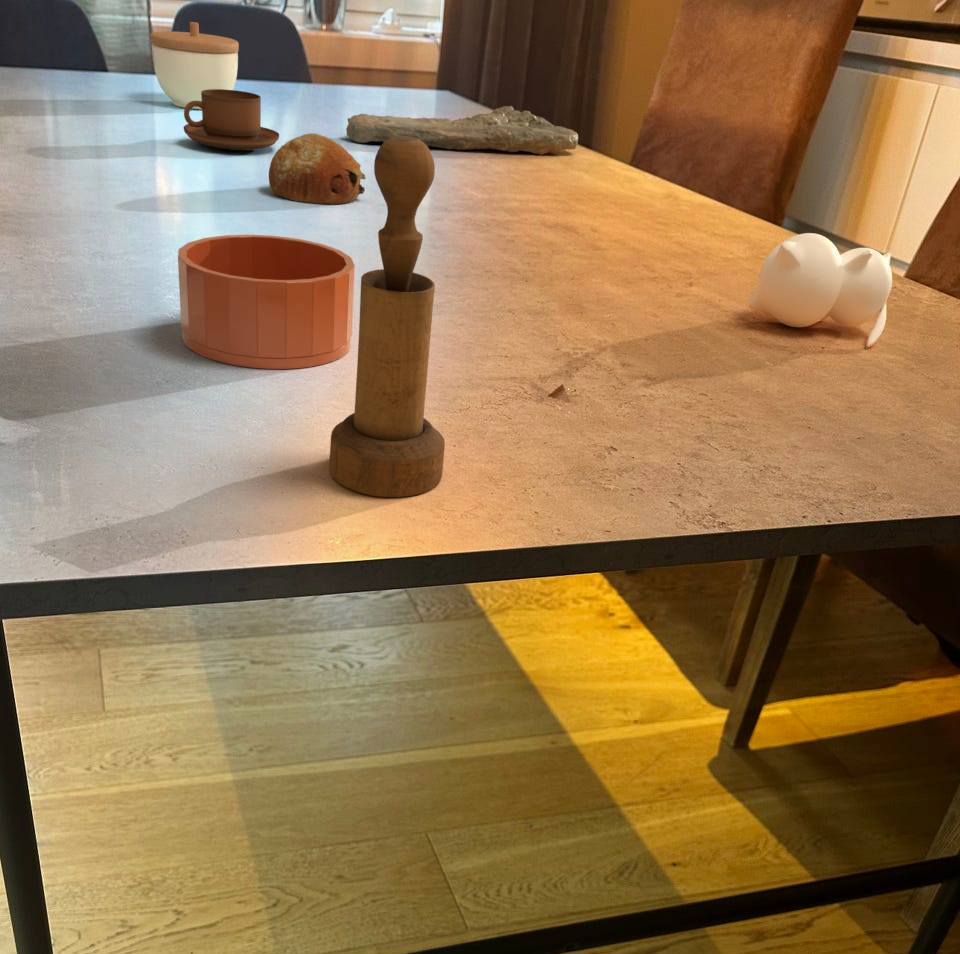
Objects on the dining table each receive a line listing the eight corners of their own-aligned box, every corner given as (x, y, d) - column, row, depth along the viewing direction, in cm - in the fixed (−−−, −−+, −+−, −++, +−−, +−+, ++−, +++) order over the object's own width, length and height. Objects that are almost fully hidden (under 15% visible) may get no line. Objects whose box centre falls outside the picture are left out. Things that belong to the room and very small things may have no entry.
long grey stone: (339, 142, 158) (353, 160, 150) (338, 102, 155) (353, 119, 147) (562, 141, 167) (586, 158, 160) (566, 104, 164) (591, 119, 157)
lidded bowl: (244, 104, 170) (243, 23, 164) (234, 116, 160) (232, 31, 154) (162, 95, 169) (157, 14, 163) (146, 107, 158) (141, 21, 152)
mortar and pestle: (402, 509, 59) (426, 156, 50) (306, 475, 62) (311, 132, 52) (462, 470, 64) (495, 143, 55) (371, 440, 67) (387, 121, 57)
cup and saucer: (228, 159, 133) (227, 104, 130) (164, 141, 139) (161, 87, 135) (298, 152, 142) (299, 100, 138) (235, 135, 147) (234, 85, 144)
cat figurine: (904, 219, 95) (776, 204, 93) (929, 316, 91) (796, 302, 88) (854, 288, 103) (735, 276, 100) (875, 380, 98) (752, 369, 96)
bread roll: (311, 214, 129) (285, 144, 126) (384, 189, 124) (360, 115, 121) (270, 230, 121) (242, 155, 118) (347, 203, 116) (320, 124, 113)
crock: (146, 342, 77) (140, 256, 74) (245, 304, 87) (244, 226, 83) (293, 382, 74) (294, 293, 70) (379, 337, 83) (384, 257, 80)
